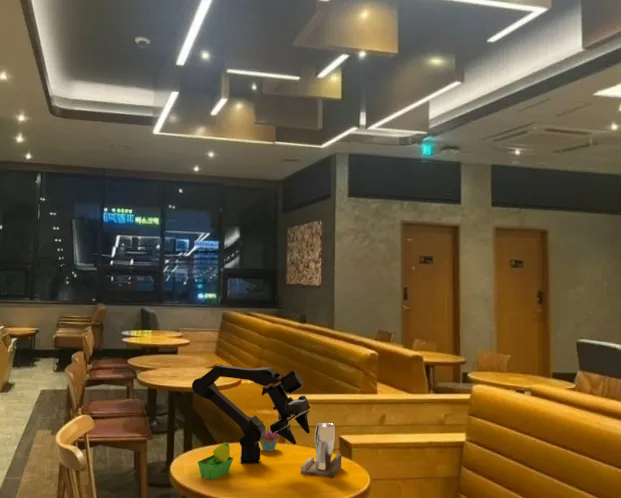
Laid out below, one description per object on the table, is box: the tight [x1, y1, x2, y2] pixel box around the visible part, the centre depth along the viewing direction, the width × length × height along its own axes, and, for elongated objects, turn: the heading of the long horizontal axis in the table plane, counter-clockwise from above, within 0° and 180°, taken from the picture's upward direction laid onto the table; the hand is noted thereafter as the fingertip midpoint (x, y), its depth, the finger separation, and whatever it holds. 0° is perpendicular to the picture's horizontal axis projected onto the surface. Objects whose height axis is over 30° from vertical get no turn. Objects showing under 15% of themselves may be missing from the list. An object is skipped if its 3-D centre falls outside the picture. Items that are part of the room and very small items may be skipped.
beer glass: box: [314, 422, 336, 471], centre depth 221 cm, size 7×7×15 cm
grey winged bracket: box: [300, 452, 343, 479], centre depth 221 cm, size 11×12×5 cm
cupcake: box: [259, 420, 280, 452], centre depth 244 cm, size 9×8×12 cm
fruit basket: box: [197, 441, 234, 480], centre depth 212 cm, size 11×9×11 cm
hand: (302, 438), depth 225 cm, fingers open, 9 cm apart
